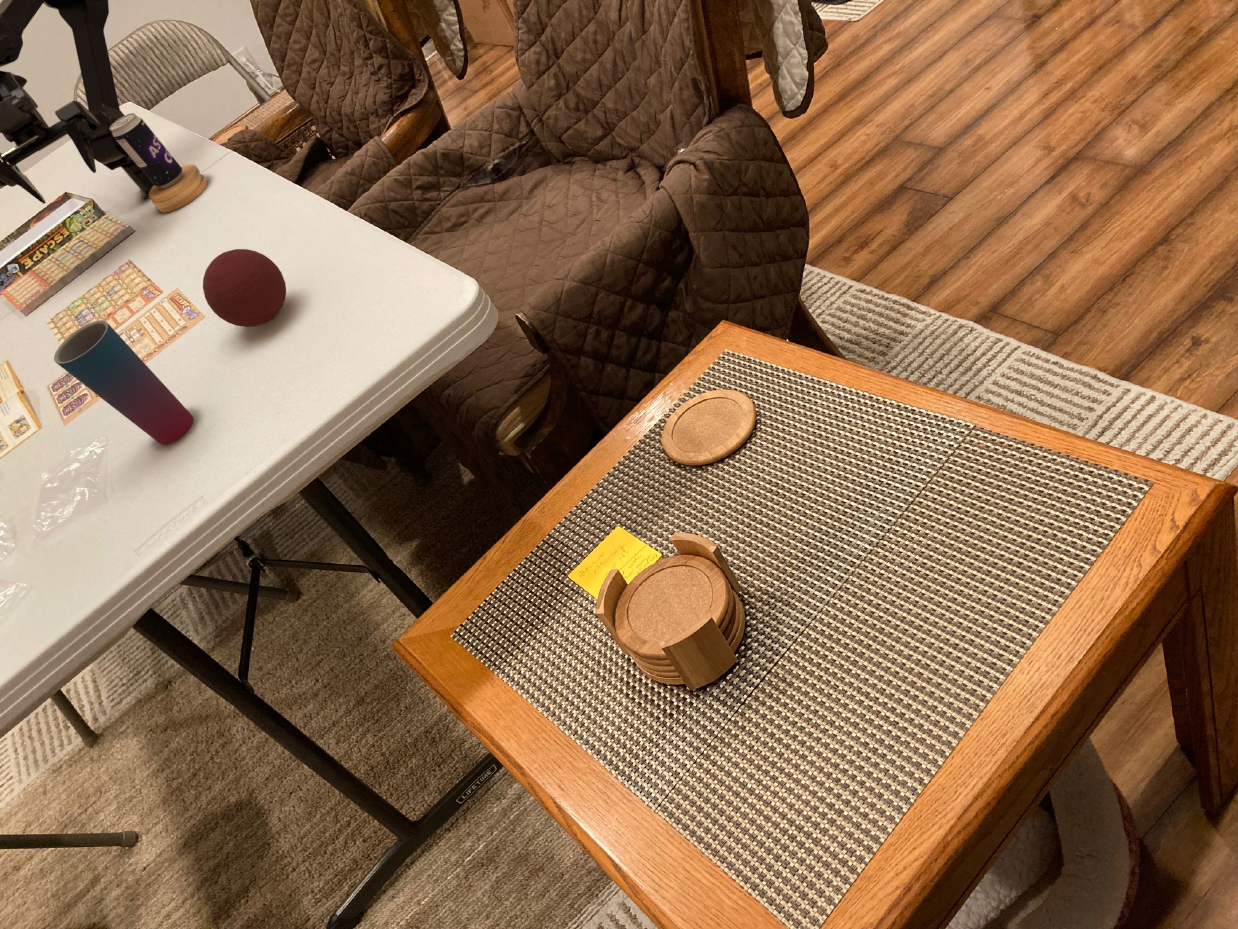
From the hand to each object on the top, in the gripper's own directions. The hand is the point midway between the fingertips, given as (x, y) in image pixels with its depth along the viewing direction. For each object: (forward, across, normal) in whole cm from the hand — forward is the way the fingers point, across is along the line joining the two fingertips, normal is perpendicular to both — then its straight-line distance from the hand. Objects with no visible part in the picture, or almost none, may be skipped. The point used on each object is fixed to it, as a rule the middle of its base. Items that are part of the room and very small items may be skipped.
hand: (68, 186), depth 139 cm
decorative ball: (+44, +17, -25) cm, 53 cm away
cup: (+53, +1, -33) cm, 62 cm away
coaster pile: (+2, +12, +18) cm, 21 cm away
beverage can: (0, +12, +16) cm, 20 cm away
